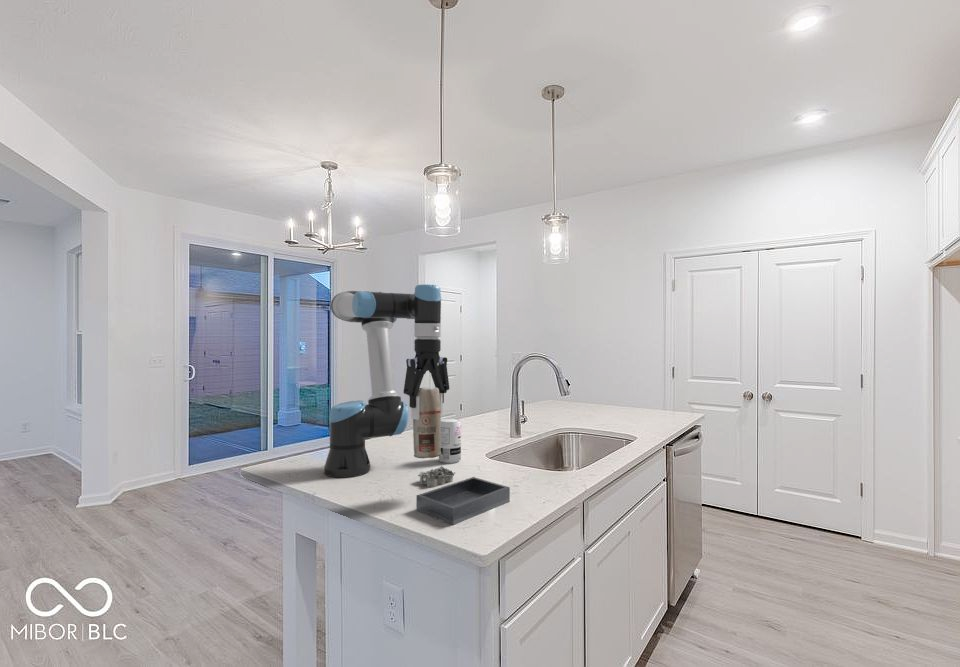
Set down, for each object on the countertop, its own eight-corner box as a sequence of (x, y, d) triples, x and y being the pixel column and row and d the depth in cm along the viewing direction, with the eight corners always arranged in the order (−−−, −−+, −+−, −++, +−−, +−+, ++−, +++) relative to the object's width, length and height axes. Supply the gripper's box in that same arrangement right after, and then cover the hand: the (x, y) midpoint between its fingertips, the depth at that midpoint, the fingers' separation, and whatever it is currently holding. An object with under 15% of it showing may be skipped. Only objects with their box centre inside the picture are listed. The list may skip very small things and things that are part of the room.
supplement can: (438, 458, 176) (438, 418, 177) (460, 457, 177) (460, 418, 177) (438, 464, 168) (439, 422, 168) (461, 463, 169) (461, 422, 169)
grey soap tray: (453, 525, 114) (453, 508, 114) (416, 510, 124) (416, 495, 124) (509, 501, 131) (509, 487, 131) (473, 490, 140) (473, 476, 140)
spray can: (406, 458, 133) (407, 387, 132) (420, 451, 140) (421, 384, 140) (433, 461, 129) (434, 389, 129) (446, 454, 137) (446, 386, 137)
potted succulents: (430, 489, 142) (430, 476, 142) (415, 483, 147) (415, 470, 147) (457, 481, 149) (457, 469, 149) (442, 476, 154) (442, 464, 154)
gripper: (407, 338, 124) (406, 423, 125) (462, 338, 140) (461, 414, 140) (390, 338, 130) (389, 420, 130) (445, 337, 145) (444, 411, 145)
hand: (427, 416), depth 135 cm, fingers closed on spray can, 8 cm apart
